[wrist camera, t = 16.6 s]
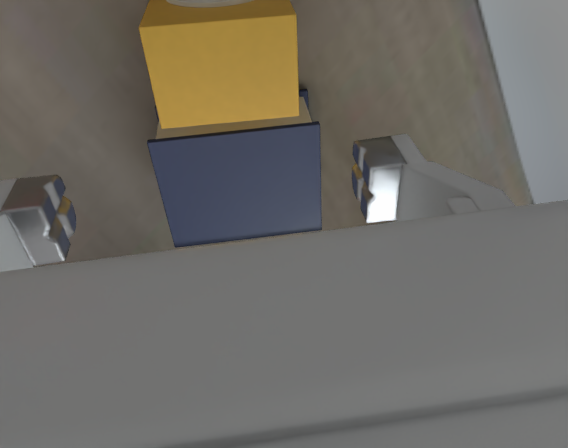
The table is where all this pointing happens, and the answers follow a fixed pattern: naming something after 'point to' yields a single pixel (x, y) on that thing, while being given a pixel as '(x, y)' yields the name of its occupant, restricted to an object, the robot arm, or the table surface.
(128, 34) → the table surface
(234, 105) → the clock
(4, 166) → the table surface
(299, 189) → the navy blue book
